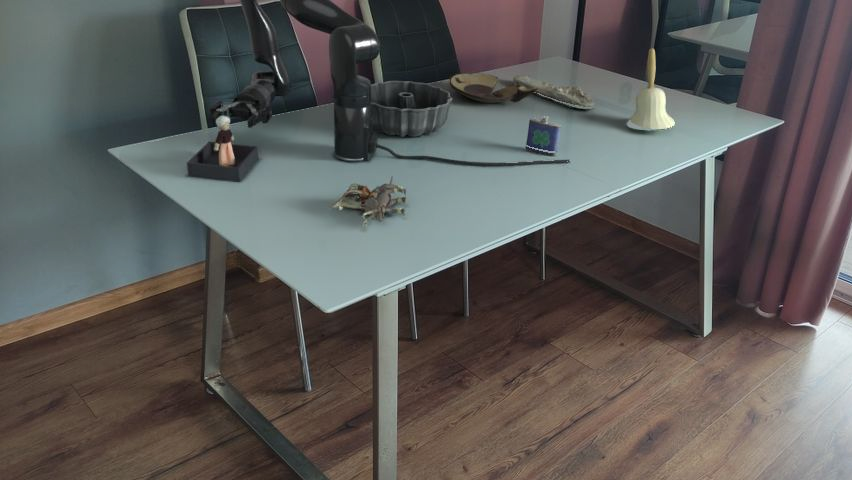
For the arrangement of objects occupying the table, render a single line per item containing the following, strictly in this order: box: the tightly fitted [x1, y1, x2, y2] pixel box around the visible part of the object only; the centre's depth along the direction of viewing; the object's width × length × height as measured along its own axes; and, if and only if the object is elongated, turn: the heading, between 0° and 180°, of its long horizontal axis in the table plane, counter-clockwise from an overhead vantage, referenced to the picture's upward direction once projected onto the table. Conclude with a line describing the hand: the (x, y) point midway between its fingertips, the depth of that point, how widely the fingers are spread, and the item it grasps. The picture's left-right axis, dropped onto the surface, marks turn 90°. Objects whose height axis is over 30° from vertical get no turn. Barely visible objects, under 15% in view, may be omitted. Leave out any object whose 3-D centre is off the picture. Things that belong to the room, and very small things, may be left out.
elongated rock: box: [512, 75, 596, 109], centre depth 259 cm, size 35×5×10 cm
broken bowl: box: [448, 72, 538, 104], centre depth 247 cm, size 22×30×8 cm
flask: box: [525, 115, 562, 157], centre depth 212 cm, size 9×3×11 cm, turn 68°
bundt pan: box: [371, 80, 453, 138], centre depth 218 cm, size 26×26×10 cm
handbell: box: [629, 47, 676, 130], centre depth 236 cm, size 15×15×25 cm
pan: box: [186, 141, 260, 183], centre depth 184 cm, size 12×14×3 cm
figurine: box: [329, 175, 407, 228], centre depth 171 cm, size 20×6×17 cm
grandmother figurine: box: [214, 116, 235, 167], centre depth 181 cm, size 8×4×13 cm, turn 177°
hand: (231, 122), depth 186 cm, fingers open, 8 cm apart
